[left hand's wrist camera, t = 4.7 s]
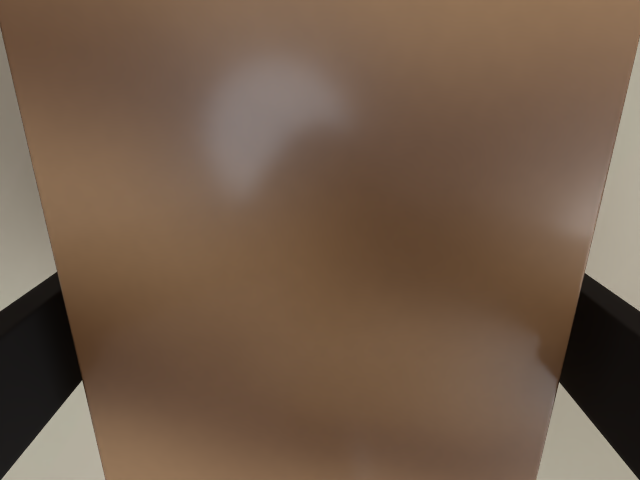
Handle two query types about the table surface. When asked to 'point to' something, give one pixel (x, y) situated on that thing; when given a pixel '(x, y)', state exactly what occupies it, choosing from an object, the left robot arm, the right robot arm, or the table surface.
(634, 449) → the left robot arm
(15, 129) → the table surface
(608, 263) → the table surface
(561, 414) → the table surface
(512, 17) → the cabinet
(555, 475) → the table surface
